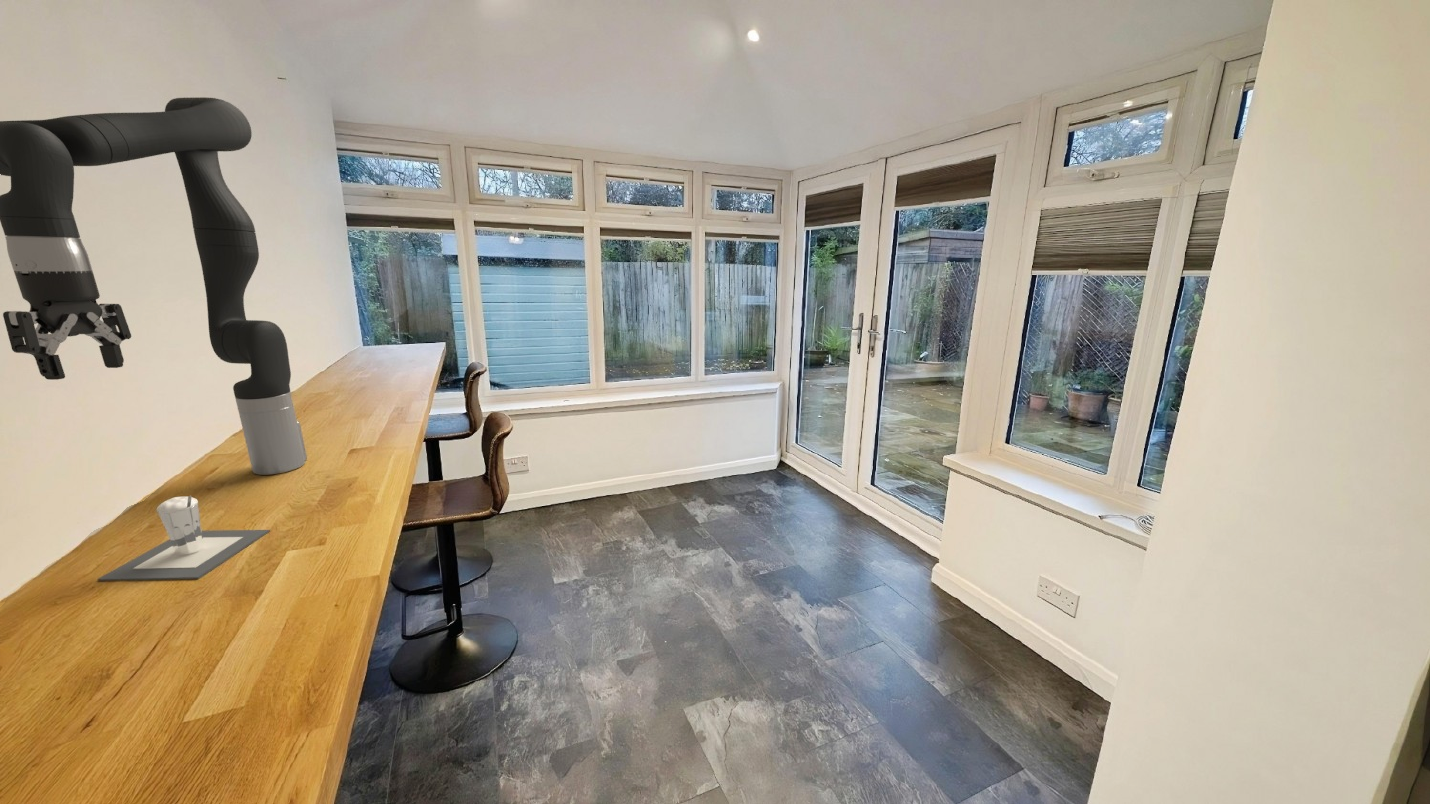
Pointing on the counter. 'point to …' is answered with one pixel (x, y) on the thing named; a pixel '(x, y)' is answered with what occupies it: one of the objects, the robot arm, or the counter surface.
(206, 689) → the counter surface
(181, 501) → the milkshake
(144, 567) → the pad
